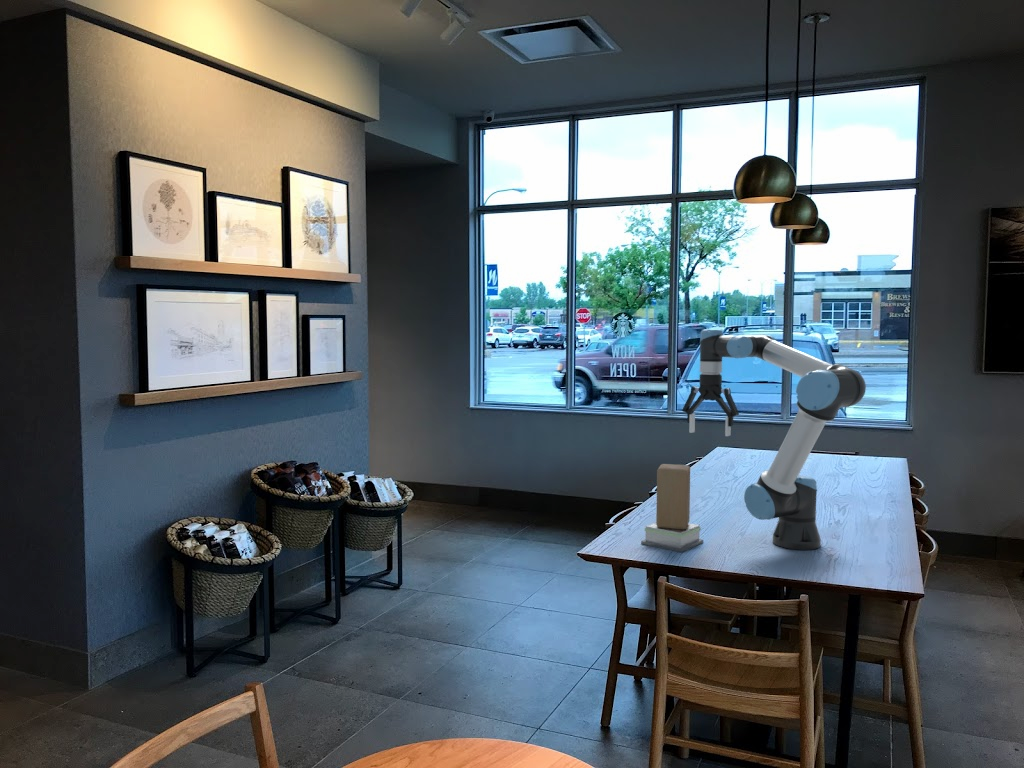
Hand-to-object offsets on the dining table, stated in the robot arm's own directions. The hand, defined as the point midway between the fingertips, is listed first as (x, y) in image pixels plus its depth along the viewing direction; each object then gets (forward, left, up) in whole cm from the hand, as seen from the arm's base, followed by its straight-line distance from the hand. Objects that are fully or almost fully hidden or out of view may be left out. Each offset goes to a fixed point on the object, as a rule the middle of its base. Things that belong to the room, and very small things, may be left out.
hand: (709, 434), depth 281 cm
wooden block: (+2, +22, -29) cm, 36 cm away
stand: (+2, +22, -35) cm, 41 cm away
